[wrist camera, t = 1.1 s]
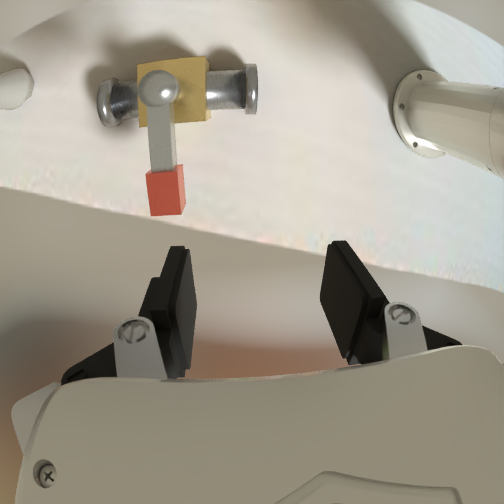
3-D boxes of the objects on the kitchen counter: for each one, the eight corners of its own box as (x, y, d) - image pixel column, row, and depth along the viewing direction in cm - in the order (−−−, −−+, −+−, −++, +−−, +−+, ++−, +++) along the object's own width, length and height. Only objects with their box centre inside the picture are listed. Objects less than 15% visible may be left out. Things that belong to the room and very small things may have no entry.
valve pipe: (253, 64, 26) (261, 49, 19) (253, 116, 30) (261, 121, 22) (116, 78, 25) (80, 73, 18) (118, 128, 29) (84, 138, 21)
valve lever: (146, 75, 19) (136, 72, 16) (181, 71, 19) (175, 67, 17) (155, 205, 25) (148, 216, 22) (188, 203, 25) (183, 214, 22)
